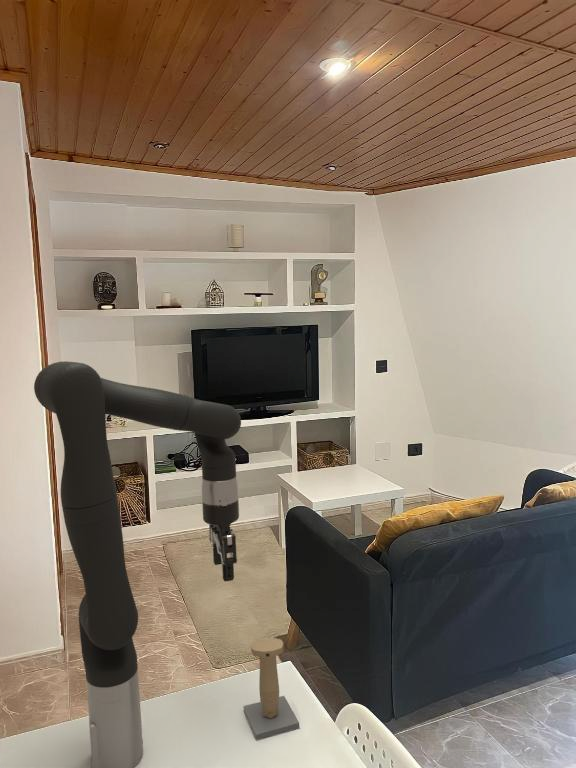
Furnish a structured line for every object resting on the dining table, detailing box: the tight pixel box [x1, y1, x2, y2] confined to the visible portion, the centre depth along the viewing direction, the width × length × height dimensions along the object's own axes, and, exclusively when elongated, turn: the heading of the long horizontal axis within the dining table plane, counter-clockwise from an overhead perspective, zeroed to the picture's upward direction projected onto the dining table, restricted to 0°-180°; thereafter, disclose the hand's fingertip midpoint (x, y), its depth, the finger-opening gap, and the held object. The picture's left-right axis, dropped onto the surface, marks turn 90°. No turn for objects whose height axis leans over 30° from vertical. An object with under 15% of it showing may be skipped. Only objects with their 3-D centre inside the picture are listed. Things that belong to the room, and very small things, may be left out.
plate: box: [242, 695, 300, 741], centre depth 120 cm, size 9×9×1 cm
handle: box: [250, 637, 284, 718], centre depth 119 cm, size 5×6×15 cm
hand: (223, 571), depth 125 cm, fingers open, 8 cm apart
